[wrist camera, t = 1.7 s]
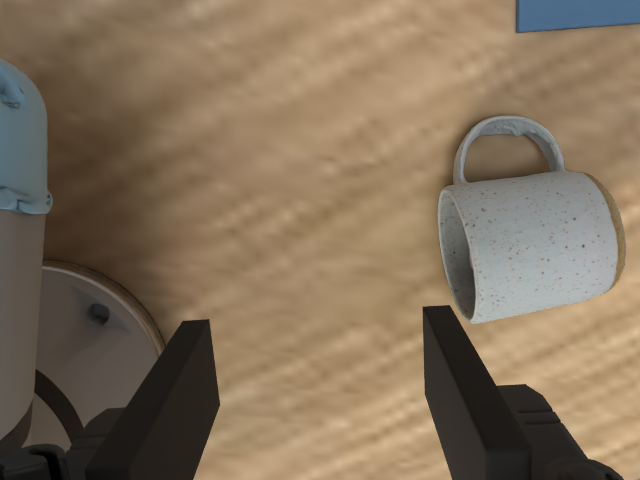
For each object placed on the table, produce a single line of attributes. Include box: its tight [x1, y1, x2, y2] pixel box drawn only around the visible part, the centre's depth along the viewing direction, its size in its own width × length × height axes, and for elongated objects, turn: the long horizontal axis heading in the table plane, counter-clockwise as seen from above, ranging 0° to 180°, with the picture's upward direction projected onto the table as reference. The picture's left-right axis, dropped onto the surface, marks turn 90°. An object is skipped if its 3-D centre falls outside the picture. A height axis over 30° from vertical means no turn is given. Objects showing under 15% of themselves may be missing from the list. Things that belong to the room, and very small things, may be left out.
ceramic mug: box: [437, 115, 626, 324], centre depth 30 cm, size 11×8×8 cm
